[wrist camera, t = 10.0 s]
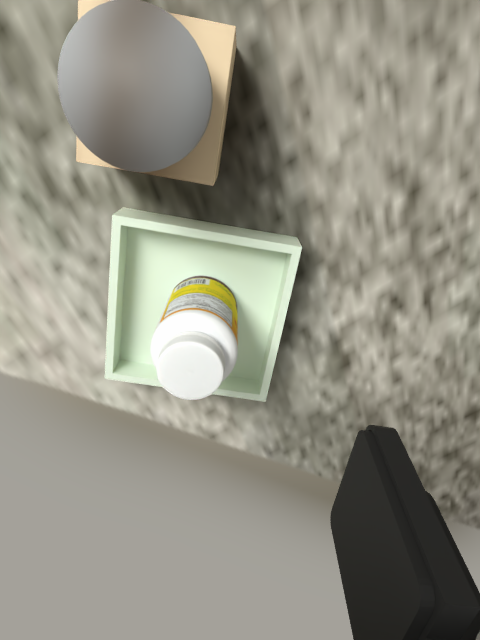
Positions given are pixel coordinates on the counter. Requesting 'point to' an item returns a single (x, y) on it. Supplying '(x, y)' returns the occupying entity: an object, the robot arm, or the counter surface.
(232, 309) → the supplement bottle
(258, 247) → the tray
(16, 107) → the counter surface
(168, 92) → the tan box with knob
